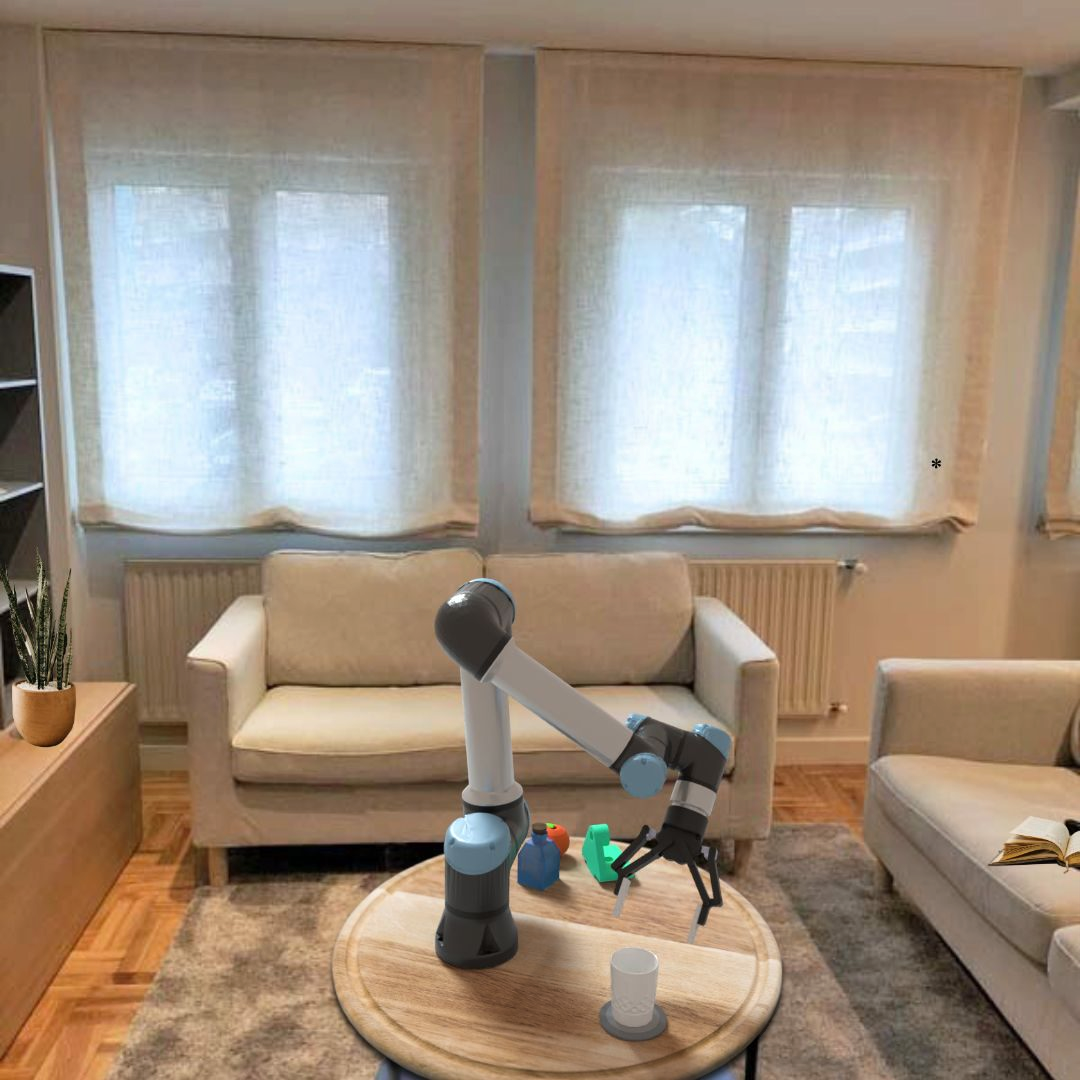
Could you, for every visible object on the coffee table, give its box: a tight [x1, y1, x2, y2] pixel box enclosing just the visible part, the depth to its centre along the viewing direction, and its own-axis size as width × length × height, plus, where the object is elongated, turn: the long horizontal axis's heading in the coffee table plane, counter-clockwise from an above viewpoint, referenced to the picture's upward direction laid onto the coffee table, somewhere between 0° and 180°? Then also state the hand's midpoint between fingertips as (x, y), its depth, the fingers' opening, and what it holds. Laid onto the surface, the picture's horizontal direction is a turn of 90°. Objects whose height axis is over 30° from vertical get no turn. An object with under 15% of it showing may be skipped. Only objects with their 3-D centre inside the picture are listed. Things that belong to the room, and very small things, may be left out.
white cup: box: [609, 946, 660, 1027], centre depth 185 cm, size 8×8×10 cm
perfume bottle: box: [516, 821, 561, 892], centre depth 230 cm, size 6×6×12 cm
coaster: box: [598, 999, 667, 1042], centre depth 186 cm, size 11×11×1 cm
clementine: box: [545, 822, 570, 857], centre depth 241 cm, size 8×7×7 cm
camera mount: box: [581, 823, 635, 883], centre depth 235 cm, size 12×8×10 cm, turn 15°
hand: (651, 929), depth 195 cm, fingers open, 13 cm apart
